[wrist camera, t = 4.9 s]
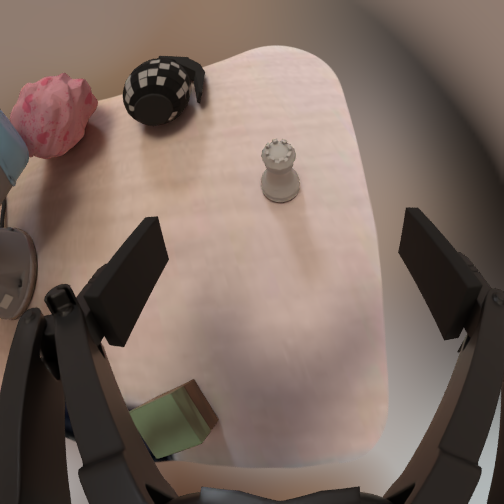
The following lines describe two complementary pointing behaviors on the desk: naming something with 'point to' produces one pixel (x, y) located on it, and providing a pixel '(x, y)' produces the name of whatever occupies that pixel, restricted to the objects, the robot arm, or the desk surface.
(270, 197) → the rook chess piece
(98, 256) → the desk surface
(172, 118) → the grenade
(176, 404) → the block stack
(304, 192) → the desk surface
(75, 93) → the decorative rock
